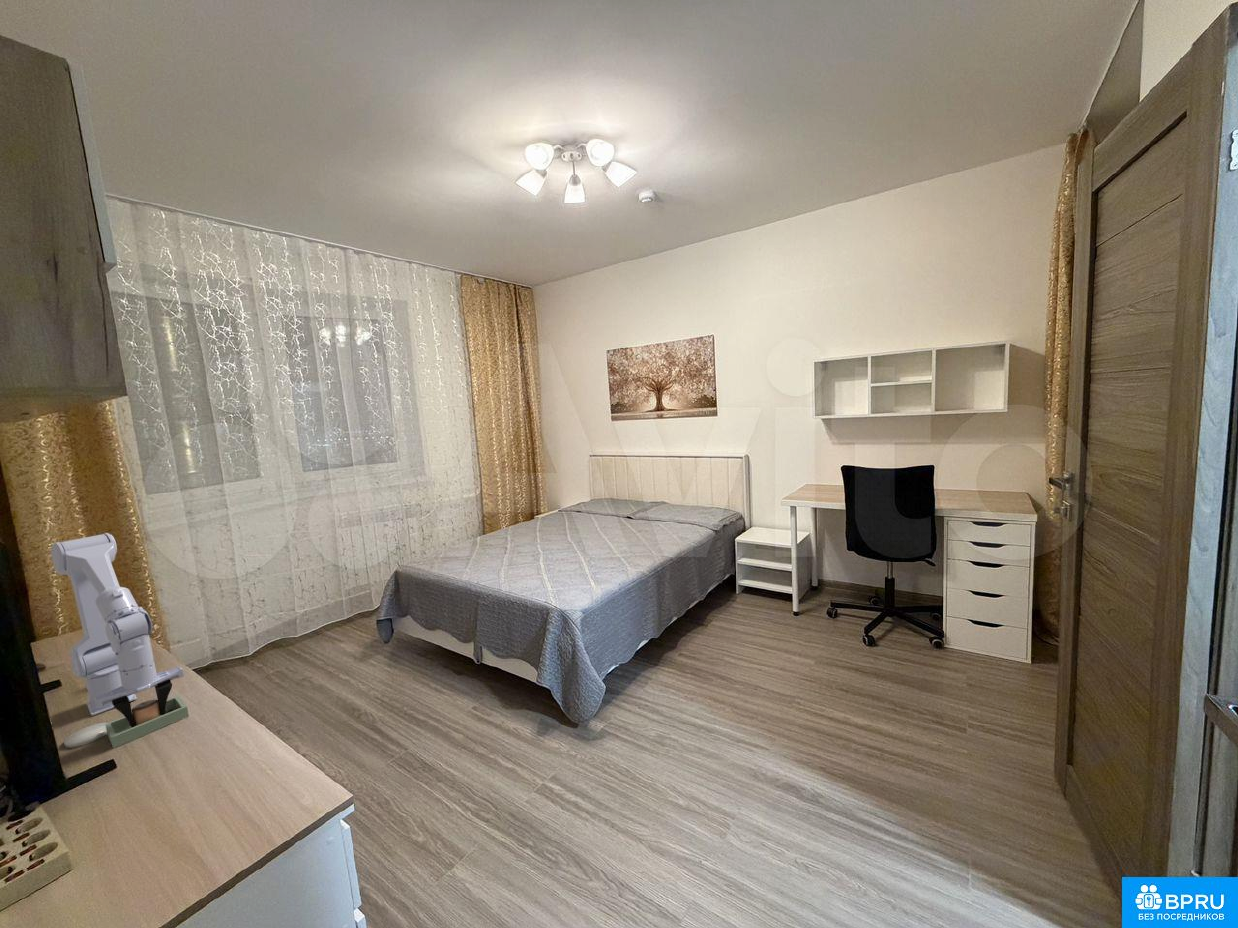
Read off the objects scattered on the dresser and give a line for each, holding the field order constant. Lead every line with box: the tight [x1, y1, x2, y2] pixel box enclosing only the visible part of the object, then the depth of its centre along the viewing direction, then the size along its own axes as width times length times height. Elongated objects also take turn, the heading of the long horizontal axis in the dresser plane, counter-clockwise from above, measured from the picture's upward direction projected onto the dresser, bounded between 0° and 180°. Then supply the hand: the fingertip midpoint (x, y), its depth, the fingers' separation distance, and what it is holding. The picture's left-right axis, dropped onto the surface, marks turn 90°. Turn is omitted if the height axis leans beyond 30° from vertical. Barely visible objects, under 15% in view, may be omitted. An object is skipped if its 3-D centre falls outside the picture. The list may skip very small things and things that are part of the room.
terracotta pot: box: [131, 699, 161, 726], centre depth 111 cm, size 4×4×5 cm
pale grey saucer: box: [63, 722, 108, 749], centre depth 109 cm, size 7×7×1 cm
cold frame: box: [105, 695, 190, 749], centre depth 111 cm, size 9×13×2 cm
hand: (147, 719), depth 111 cm, fingers closed on terracotta pot, 4 cm apart
